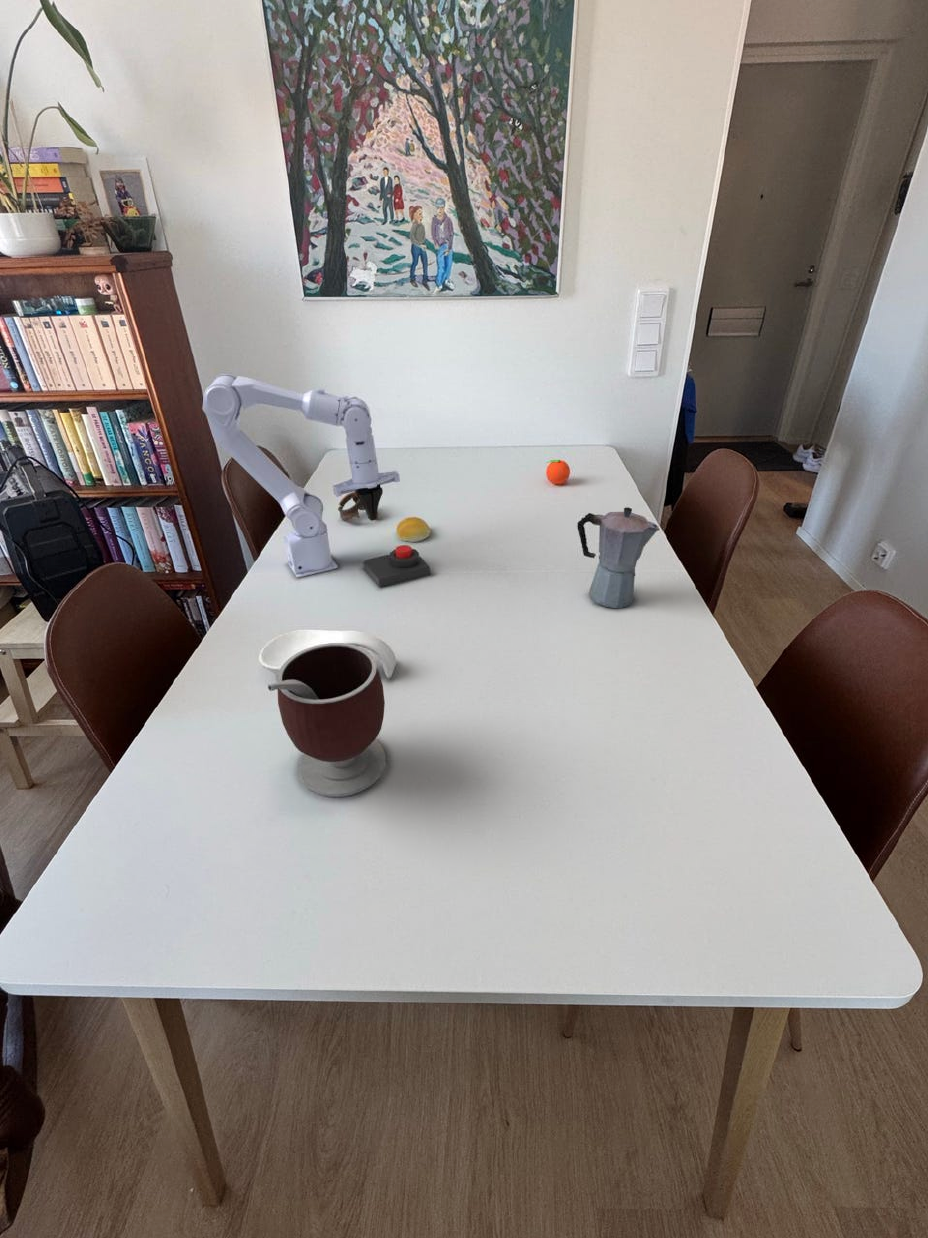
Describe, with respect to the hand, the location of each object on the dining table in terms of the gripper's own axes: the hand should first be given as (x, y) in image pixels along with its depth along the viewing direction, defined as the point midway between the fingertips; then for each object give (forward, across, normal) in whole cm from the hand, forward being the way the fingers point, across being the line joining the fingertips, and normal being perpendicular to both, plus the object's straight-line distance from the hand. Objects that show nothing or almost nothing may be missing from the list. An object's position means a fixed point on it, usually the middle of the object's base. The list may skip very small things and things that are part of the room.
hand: (372, 518), depth 140 cm
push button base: (+11, +1, -7) cm, 13 cm away
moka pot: (+13, +35, -39) cm, 54 cm away
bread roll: (+11, +12, +9) cm, 19 cm away
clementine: (+13, +63, +21) cm, 68 cm away
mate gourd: (+10, -29, -58) cm, 66 cm away
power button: (+7, +4, -7) cm, 11 cm away
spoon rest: (+10, -23, -34) cm, 42 cm away
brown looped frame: (+10, +4, +25) cm, 28 cm away
